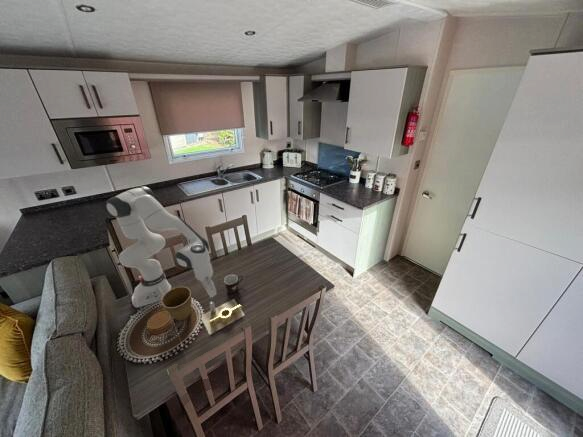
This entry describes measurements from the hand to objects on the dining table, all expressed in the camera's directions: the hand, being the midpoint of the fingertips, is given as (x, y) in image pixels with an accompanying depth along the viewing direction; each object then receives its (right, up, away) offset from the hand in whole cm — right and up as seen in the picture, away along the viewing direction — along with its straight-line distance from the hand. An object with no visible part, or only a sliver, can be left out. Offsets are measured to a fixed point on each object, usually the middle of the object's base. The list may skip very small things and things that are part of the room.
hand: (208, 291), depth 130 cm
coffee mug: (+9, -7, +25) cm, 28 cm away
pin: (0, -15, +9) cm, 18 cm away
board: (+6, -17, +8) cm, 20 cm away
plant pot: (-18, -17, +8) cm, 26 cm away
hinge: (+9, -17, +5) cm, 20 cm away
